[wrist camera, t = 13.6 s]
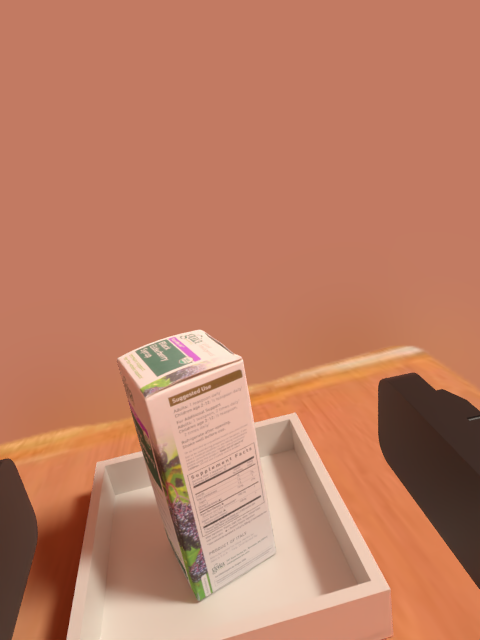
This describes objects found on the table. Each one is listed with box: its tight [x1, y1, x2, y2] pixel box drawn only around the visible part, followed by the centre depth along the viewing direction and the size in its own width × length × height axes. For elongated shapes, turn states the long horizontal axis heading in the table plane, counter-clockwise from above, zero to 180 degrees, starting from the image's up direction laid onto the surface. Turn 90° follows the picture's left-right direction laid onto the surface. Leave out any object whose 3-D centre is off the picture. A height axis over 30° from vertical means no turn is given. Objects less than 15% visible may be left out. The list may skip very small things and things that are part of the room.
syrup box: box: [117, 330, 276, 601], centre depth 28 cm, size 6×6×14 cm
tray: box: [66, 413, 393, 640], centre depth 30 cm, size 16×16×4 cm
